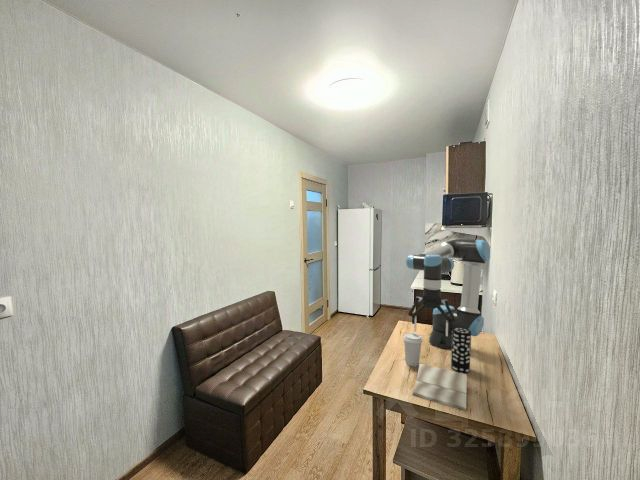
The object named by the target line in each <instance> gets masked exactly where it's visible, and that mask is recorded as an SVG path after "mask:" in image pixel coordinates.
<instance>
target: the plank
mask: <svg viewBox="0 0 640 480" xmlns="http://www.w3.org/2000/svg"><path fill="white" fill-rule="evenodd" d="M467 379H468V376H467V373H459V372H456V371H454V370H449V369H445V368H441V367H437V366H432V365H427V364H424V363H419V365H418V371H417V377H416V381H420V382H424V383H428V384H432V385H435V386H439V387H443V388H446V389H450V390H454V391H458V392H461V393H465V394H466V395H467V384H468V383H467V382H468V381H467Z"/></svg>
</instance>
